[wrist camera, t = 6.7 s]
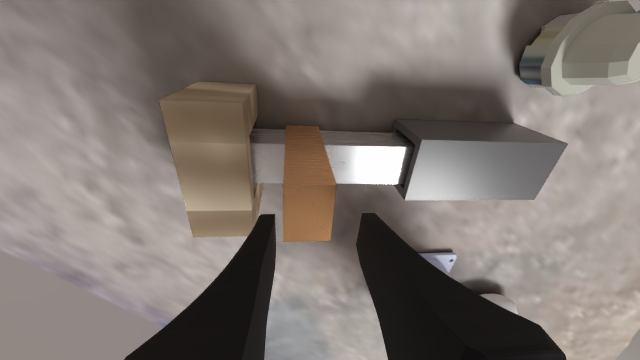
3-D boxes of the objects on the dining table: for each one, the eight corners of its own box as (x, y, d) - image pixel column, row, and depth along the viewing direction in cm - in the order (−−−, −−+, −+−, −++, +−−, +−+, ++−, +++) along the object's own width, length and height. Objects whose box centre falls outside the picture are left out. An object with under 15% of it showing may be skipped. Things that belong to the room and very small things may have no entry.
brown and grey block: (419, 167, 22) (487, 236, 14) (234, 165, 20) (200, 243, 12) (430, 130, 20) (515, 185, 13) (229, 123, 18) (186, 184, 11)
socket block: (262, 189, 22) (254, 235, 17) (216, 189, 22) (193, 237, 17) (256, 84, 18) (242, 103, 13) (198, 81, 17) (158, 100, 12)
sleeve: (492, 171, 24) (534, 199, 20) (383, 170, 23) (404, 200, 18) (514, 123, 22) (568, 143, 17) (394, 118, 20) (422, 139, 16)
